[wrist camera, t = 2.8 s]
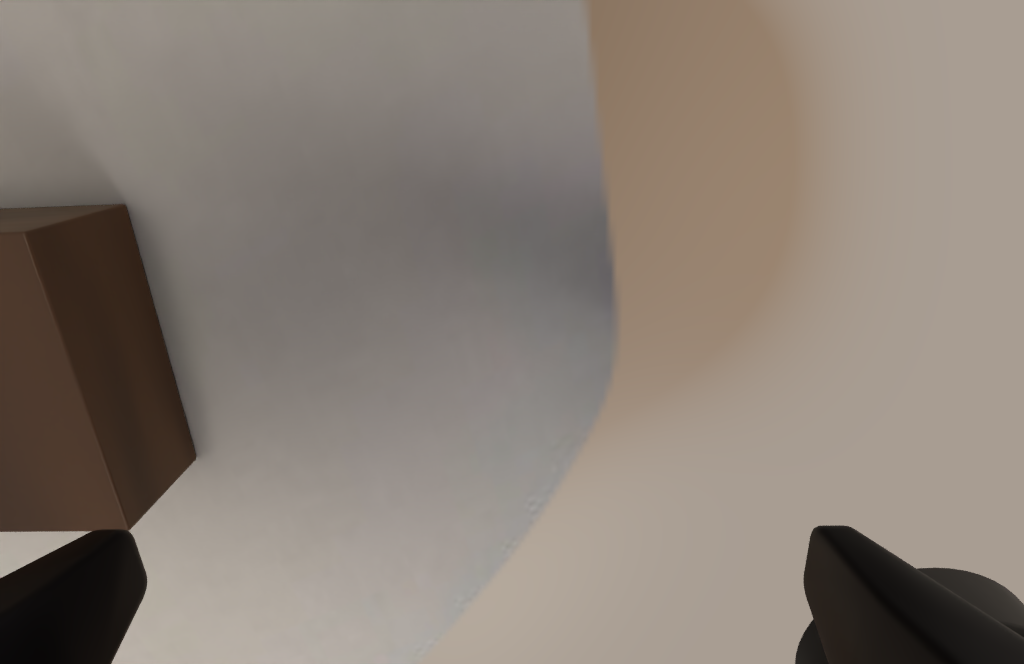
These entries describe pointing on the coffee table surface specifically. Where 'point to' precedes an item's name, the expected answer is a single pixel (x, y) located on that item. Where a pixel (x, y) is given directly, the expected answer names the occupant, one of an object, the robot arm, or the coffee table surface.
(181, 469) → the walnut block
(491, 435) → the coffee table surface
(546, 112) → the coffee table surface
